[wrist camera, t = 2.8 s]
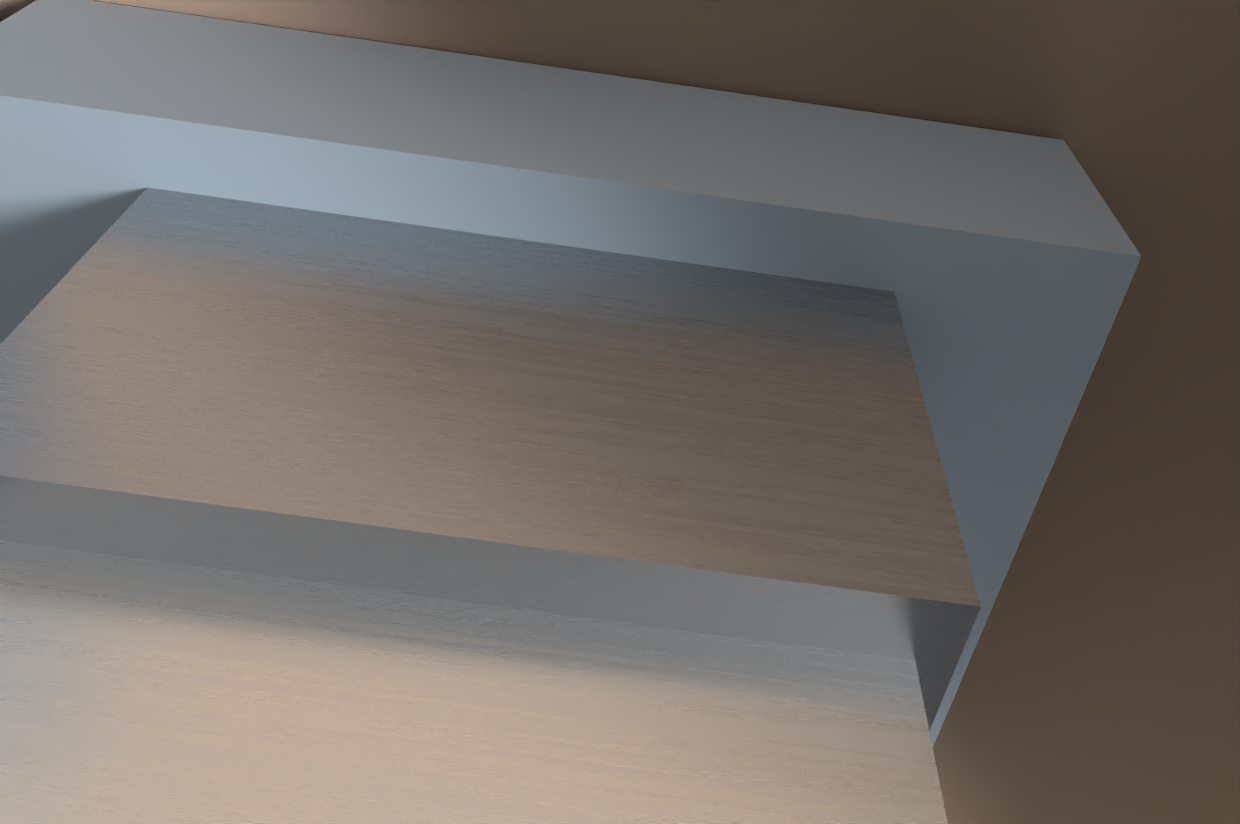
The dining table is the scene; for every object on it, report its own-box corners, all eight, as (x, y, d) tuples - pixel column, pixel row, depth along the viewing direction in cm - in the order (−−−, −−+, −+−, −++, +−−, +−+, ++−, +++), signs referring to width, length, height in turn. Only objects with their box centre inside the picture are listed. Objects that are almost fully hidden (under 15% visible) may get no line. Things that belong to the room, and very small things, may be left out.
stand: (831, 782, 14) (850, 941, 12) (151, 694, 14) (76, 844, 12) (1064, 139, 9) (1142, 256, 8) (45, -7, 9) (-97, 81, 7)
